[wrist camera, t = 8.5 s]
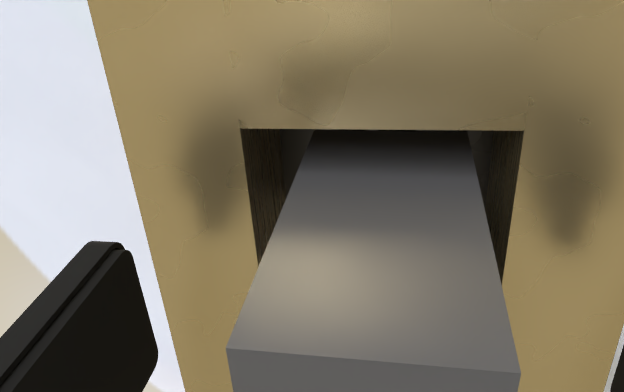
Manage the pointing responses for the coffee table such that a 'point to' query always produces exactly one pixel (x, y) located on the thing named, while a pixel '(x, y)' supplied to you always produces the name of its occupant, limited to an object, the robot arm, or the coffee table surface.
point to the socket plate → (378, 117)
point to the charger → (378, 275)
